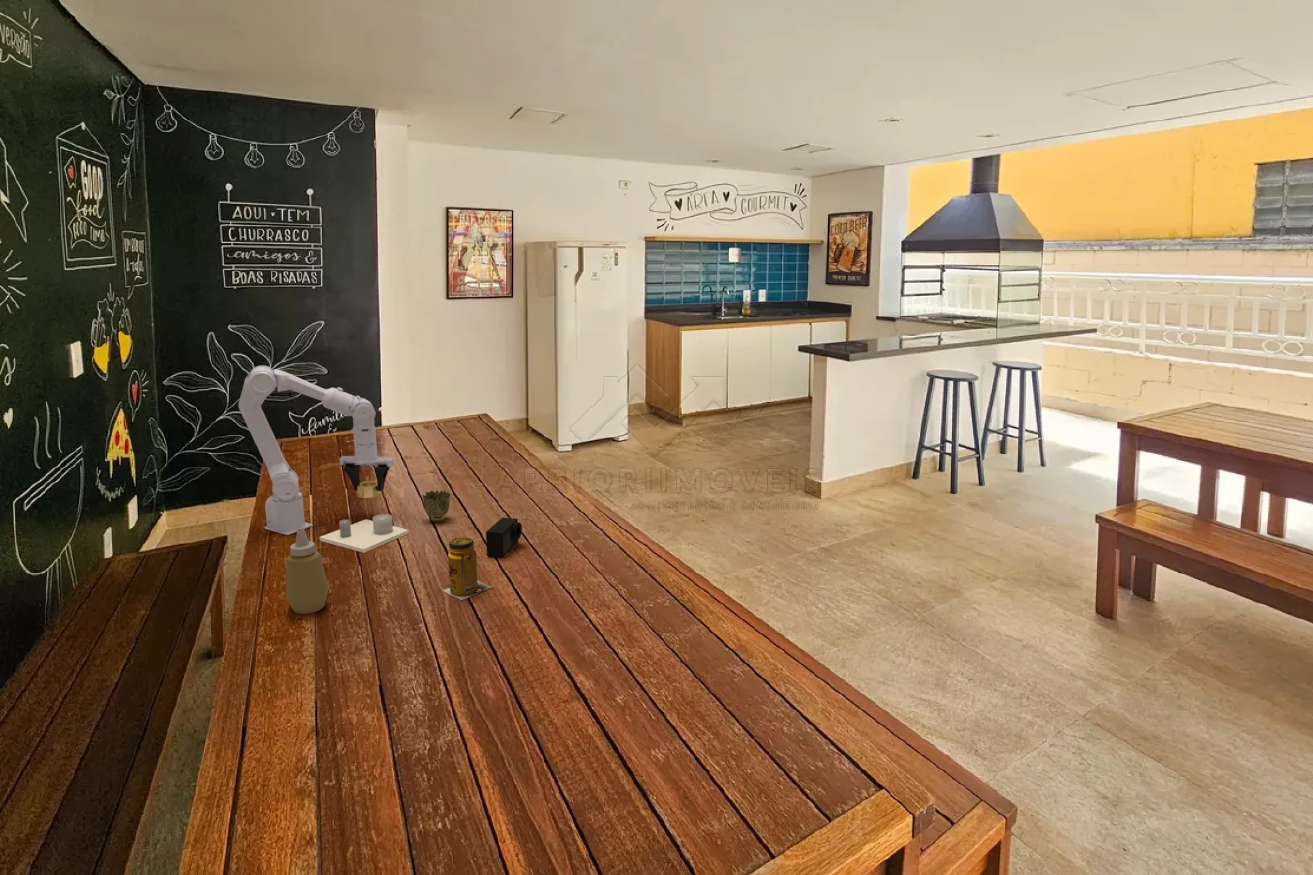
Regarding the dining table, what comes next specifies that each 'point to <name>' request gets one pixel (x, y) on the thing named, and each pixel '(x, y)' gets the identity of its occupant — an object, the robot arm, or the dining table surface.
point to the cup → (437, 504)
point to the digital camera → (502, 537)
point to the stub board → (365, 533)
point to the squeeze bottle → (305, 576)
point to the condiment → (463, 569)
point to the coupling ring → (368, 489)
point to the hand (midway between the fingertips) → (369, 489)
